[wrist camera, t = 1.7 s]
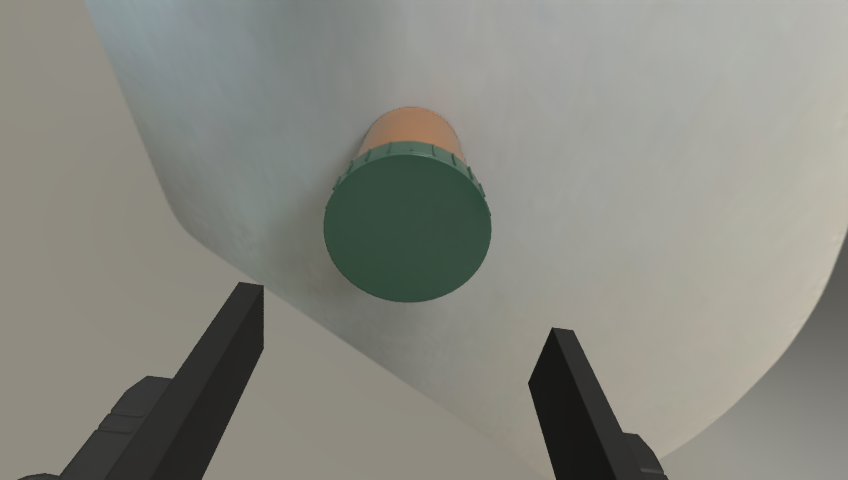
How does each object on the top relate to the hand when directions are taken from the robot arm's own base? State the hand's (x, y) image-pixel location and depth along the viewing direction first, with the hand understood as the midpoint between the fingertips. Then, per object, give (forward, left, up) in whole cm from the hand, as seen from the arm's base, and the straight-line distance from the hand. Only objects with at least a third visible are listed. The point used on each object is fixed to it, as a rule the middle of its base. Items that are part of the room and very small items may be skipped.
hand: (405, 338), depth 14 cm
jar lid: (0, 0, -8) cm, 8 cm away
